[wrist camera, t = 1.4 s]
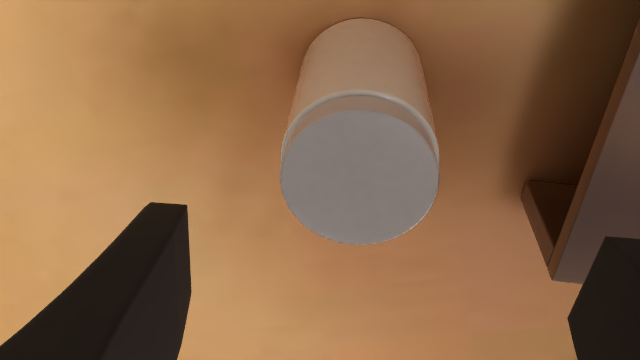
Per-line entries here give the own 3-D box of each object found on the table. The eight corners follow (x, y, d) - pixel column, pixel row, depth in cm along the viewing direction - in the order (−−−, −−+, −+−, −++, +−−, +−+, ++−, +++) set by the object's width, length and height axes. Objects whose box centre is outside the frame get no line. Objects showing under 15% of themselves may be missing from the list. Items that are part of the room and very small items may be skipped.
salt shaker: (411, 137, 21) (427, 257, 15) (297, 125, 21) (271, 240, 16) (432, 24, 19) (459, 116, 13) (305, 11, 19) (278, 97, 13)
